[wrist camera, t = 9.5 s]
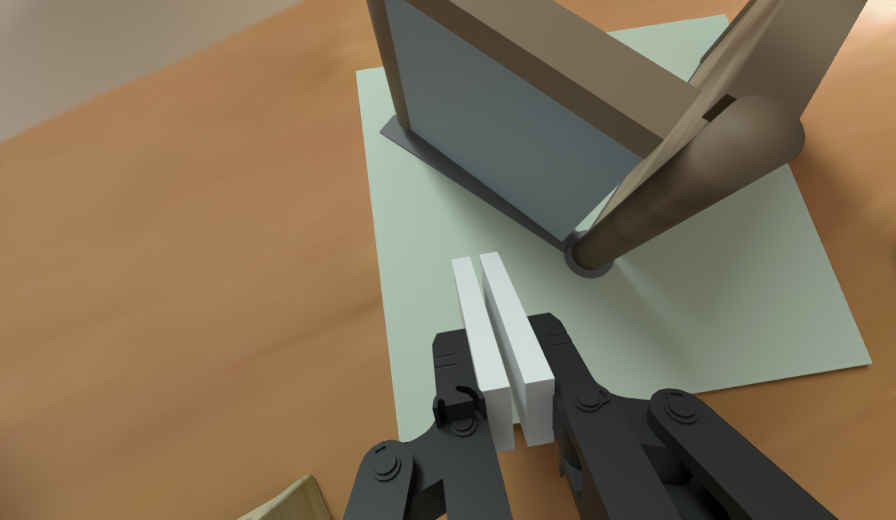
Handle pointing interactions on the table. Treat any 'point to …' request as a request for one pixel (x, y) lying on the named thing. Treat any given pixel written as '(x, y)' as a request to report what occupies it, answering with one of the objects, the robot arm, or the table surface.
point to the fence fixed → (727, 122)
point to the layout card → (606, 267)
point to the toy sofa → (293, 504)
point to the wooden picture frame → (527, 99)
